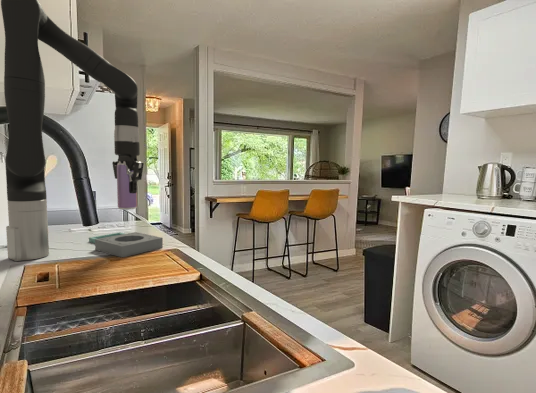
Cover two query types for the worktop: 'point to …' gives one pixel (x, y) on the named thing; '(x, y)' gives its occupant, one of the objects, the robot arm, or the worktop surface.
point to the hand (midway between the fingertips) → (128, 192)
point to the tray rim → (103, 236)
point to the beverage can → (124, 190)
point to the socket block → (128, 244)
